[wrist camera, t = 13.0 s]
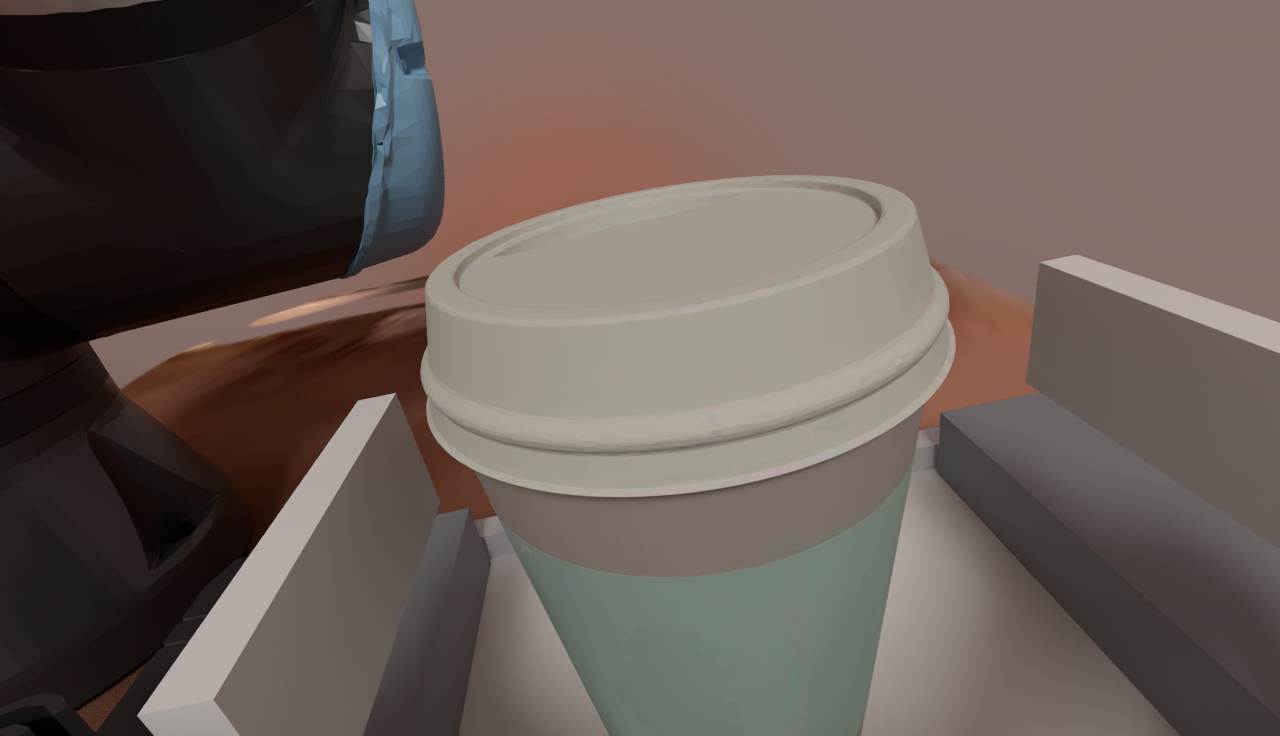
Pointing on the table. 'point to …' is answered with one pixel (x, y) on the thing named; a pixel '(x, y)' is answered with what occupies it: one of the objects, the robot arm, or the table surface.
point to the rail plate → (931, 605)
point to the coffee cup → (700, 436)
